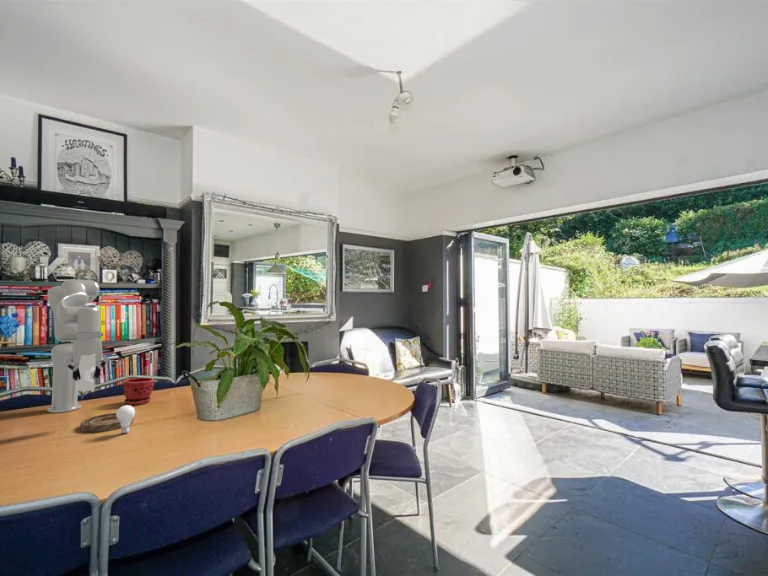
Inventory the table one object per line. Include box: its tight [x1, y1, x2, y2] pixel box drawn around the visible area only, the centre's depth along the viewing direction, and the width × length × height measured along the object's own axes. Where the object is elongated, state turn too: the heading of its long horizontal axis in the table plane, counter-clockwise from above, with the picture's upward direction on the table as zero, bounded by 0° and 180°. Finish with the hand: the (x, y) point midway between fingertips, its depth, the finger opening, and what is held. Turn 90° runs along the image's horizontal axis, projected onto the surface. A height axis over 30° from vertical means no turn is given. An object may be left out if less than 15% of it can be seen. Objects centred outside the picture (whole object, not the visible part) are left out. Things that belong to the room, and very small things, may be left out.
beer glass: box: [77, 354, 97, 392], centre depth 161 cm, size 7×7×15 cm
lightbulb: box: [115, 404, 136, 434], centre depth 153 cm, size 6×6×11 cm
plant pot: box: [123, 377, 155, 406], centre depth 198 cm, size 13×13×12 cm
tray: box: [80, 412, 135, 433], centre depth 163 cm, size 18×18×3 cm
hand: (86, 378), depth 161 cm, fingers closed on beer glass, 6 cm apart
